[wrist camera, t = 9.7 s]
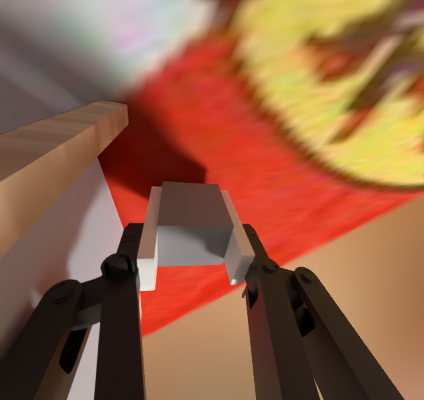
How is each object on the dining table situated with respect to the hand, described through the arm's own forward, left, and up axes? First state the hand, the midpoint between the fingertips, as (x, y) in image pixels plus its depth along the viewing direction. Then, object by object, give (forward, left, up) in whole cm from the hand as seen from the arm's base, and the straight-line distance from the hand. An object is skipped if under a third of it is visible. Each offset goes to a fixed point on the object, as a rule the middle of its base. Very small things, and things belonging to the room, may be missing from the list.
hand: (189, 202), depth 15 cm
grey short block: (0, 0, 0) cm, 1 cm away
